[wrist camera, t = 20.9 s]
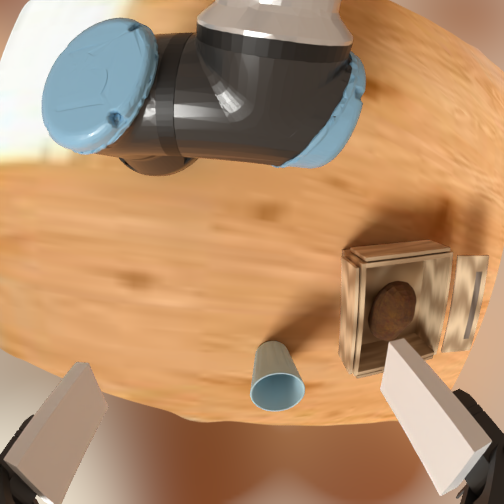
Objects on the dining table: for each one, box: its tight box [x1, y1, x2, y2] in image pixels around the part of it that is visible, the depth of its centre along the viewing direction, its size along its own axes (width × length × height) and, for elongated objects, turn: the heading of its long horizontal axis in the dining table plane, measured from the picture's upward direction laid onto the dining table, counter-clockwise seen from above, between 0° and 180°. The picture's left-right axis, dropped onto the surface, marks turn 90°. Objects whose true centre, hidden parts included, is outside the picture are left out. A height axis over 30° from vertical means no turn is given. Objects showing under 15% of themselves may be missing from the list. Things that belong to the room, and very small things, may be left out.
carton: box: [338, 240, 453, 378], centre depth 41 cm, size 20×17×8 cm
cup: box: [250, 341, 305, 411], centre depth 41 cm, size 8×8×10 cm
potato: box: [368, 281, 416, 341], centre depth 40 cm, size 7×10×8 cm
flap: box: [441, 255, 489, 352], centre depth 35 cm, size 17×1×6 cm
